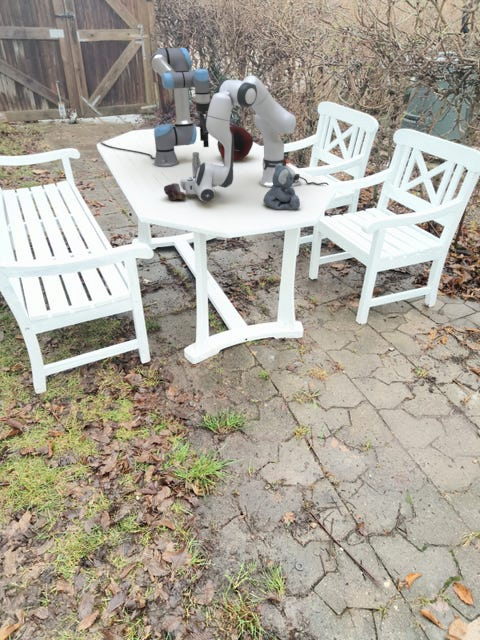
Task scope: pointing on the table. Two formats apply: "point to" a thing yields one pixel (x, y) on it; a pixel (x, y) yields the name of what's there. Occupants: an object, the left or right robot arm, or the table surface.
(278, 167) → the koala plush
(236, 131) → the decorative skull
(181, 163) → the table surface
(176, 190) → the rock
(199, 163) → the bottle
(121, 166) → the table surface
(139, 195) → the table surface
